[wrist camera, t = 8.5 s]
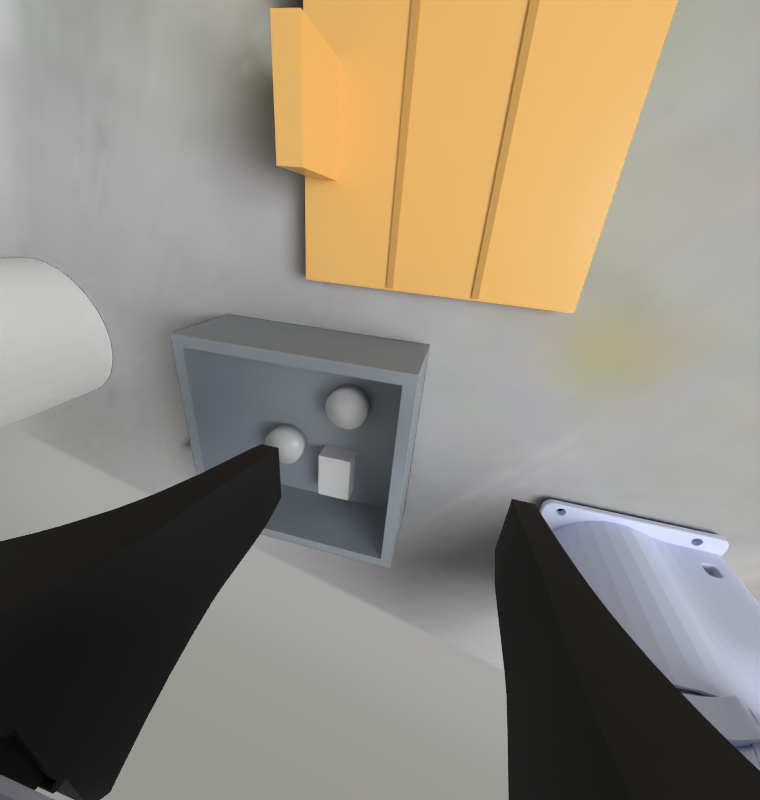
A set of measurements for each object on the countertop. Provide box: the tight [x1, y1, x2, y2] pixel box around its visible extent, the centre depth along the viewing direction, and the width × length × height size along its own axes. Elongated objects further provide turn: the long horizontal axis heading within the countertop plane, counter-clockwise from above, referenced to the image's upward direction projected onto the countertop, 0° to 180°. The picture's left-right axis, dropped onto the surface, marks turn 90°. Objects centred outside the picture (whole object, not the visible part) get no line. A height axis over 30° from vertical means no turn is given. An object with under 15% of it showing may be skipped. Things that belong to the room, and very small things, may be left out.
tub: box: [170, 314, 430, 569], centre depth 20 cm, size 12×12×4 cm
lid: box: [270, 0, 678, 313], centre depth 13 cm, size 13×13×5 cm
